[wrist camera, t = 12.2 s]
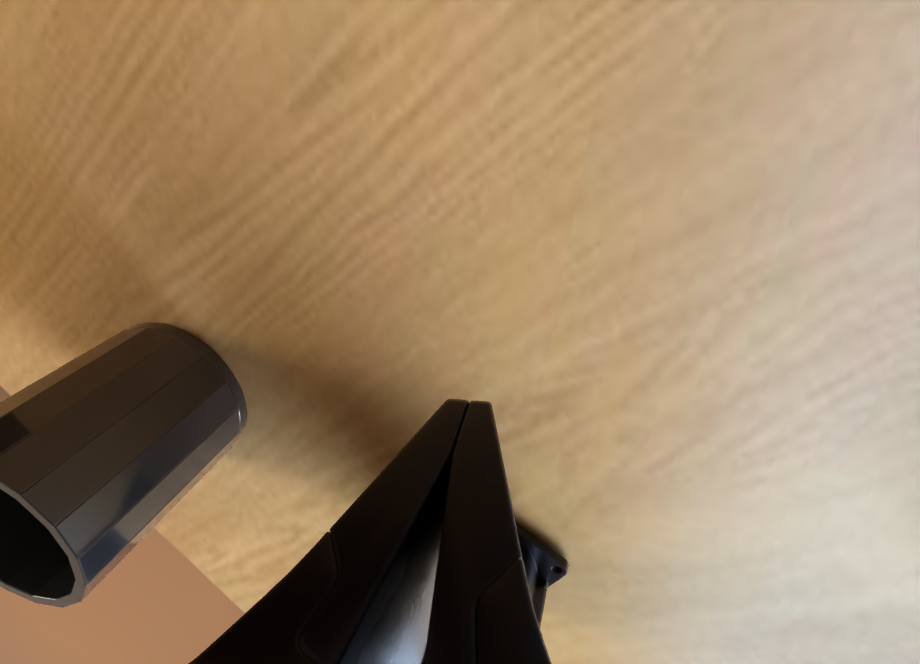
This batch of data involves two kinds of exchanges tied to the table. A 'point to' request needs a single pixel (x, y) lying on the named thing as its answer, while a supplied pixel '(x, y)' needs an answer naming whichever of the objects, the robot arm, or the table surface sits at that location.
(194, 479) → the pen cup
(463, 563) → the robot arm
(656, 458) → the table surface
